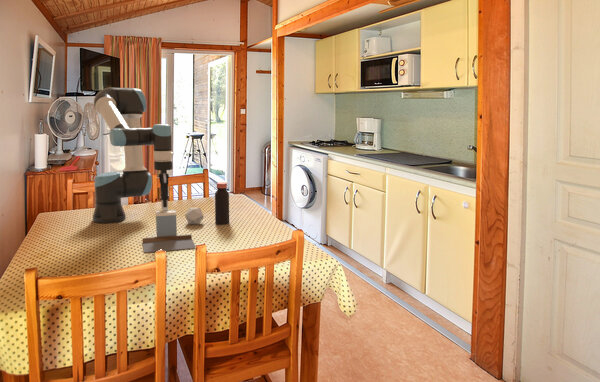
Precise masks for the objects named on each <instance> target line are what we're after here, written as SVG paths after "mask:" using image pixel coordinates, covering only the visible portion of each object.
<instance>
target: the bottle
mask: <svg viewBox="0 0 600 382" xmlns="http://www.w3.org/2000/svg"><path fill="white" fill-rule="evenodd" d="M227 188H228V183H227V182H222V181H220V182H217V183H216V189H217V190H216V192H215V193H214V218H215V219H214V221H215V224H216V225H221V226H223V225H228V224H229V223H230V193H229V191H228V190H227Z"/></svg>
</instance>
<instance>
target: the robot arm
mask: <svg viewBox="0 0 600 382" xmlns="http://www.w3.org/2000/svg"><path fill="white" fill-rule="evenodd" d="M146 99H147V98H146V96H145V93H144V92H143V91H142V89H140V88H133V87H106V88H103V89H101V90H100V91H98V92H97V94H96V95H95V96H94V99H93V107H94V109H95V110H96V112H97V114H99V115H100V116H101V117H102V118H103V119H104V122H105V123H106V125H107V127H108V128H109V130H110V131H109V141H110V144H111V146H113V147H124V150H123V151H124V160H125V161H124V162H125V167H124V169H123V170H122V174H121V173H120V172H119V171H108V172H103V173H99V174H97V175H95V177H94V180H93V181H94V182H93V184H94V185H93V187H94V197H95V199H94V200H95V207H94V210H93V213H92V222H93V223H98V224H112V223H119V222H123V221H125V220H126V218H127V216H126V212H125V209H124V207H123V204H122V199H123V198H135V197H143V196H147V195H149V194H150V193H151V191H152V187H153V177H152V174H151V173H150V172H148V169H147V168H146V167H145V166H144V152H143V146H153V160H154V162H153V167H154V170H155V171H160V172H159V173H158V178H159V179H158V180H159V184H160V198H159V200H160V203H161V211H163V210H169V200H168V199H170V197H169V178H170V177H169V176H170V174H169V173H168V171H170V170H173V161H172V160H173V155H174V152H173V151H172V150H173V148H172V146H173V145H172V143H173V141H172V139H173V138H172V134H173V133H172V126H171V125H170V124H166V123H165V124H164V123H158V124H157V123H155V124H153V125H152V127H141V118H142V117H143V116H144V115H143V114H144V113H145V112H146V111H147V100H146Z"/></svg>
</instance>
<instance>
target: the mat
mask: <svg viewBox="0 0 600 382" xmlns="http://www.w3.org/2000/svg"><path fill="white" fill-rule="evenodd" d="M195 246H196V244H195V243H194V241H193V239H180V240H167V241H154V242H143V241H142V248H143V254H149V253H150V254H151V253H156V252H155V251H158V250H160V249H162V250H165V251H164V252H173V251H175V250H176V251H186V250H185V249H187V250H195V249H194V248H195Z"/></svg>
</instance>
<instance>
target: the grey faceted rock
mask: <svg viewBox="0 0 600 382" xmlns="http://www.w3.org/2000/svg"><path fill="white" fill-rule="evenodd" d="M184 216H185V219H186V221H187V224H188V225H200V223H201V222H202V221H203V219H204V217H205V216H204V213H203V211H202V209H201V207H189V208H188V210H187V211H186V213H185V214H184Z"/></svg>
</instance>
